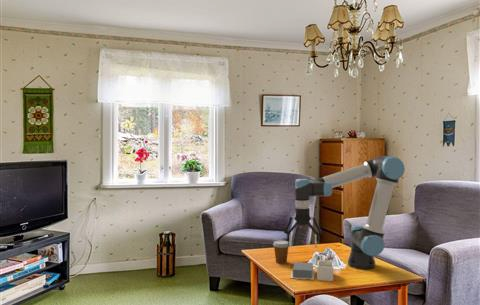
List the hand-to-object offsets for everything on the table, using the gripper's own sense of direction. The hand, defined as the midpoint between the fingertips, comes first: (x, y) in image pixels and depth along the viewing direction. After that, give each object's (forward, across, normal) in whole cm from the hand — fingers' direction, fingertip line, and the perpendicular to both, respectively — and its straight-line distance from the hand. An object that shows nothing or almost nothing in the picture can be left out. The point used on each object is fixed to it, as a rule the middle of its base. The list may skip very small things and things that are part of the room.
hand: (303, 246), depth 219 cm
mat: (+15, 0, 0) cm, 15 cm away
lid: (+14, 0, 0) cm, 15 cm away
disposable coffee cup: (+15, -14, +19) cm, 28 cm away
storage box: (+15, +12, -2) cm, 19 cm away
